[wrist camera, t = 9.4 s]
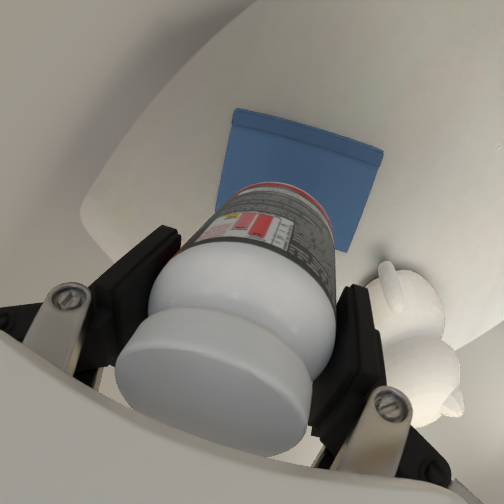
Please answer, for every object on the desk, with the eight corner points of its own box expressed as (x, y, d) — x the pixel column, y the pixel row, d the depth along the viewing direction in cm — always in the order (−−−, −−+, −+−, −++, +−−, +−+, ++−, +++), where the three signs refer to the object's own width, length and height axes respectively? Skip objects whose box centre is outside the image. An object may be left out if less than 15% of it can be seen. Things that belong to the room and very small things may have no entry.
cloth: (215, 211, 29) (213, 213, 28) (236, 108, 24) (234, 108, 23) (346, 251, 28) (346, 254, 27) (382, 150, 23) (384, 151, 22)
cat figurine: (371, 347, 32) (377, 462, 19) (329, 263, 28) (326, 387, 15) (441, 320, 28) (477, 430, 15) (413, 225, 25) (477, 332, 12)
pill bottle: (211, 181, 14) (58, 301, 5) (333, 177, 13) (349, 330, 4) (226, 285, 17) (141, 441, 8) (332, 288, 15) (321, 475, 6)
